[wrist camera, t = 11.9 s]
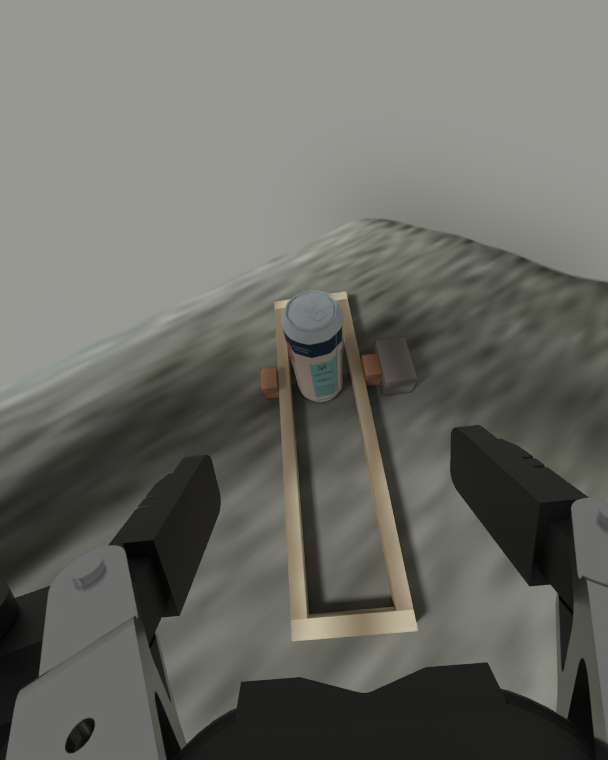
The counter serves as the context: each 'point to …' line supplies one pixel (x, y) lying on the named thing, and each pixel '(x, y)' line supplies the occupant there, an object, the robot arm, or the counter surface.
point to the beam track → (394, 377)
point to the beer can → (315, 343)
